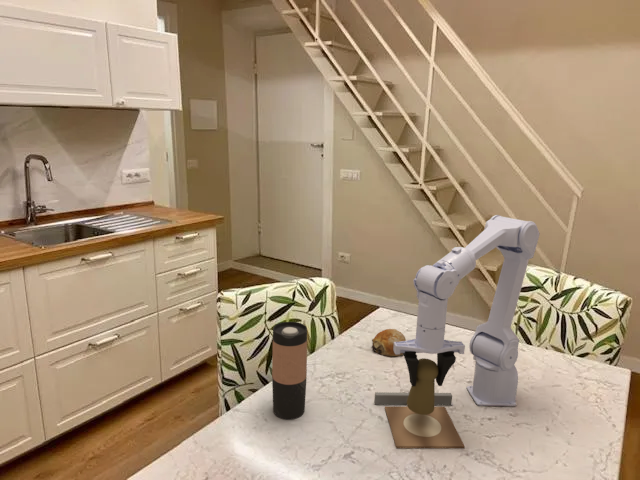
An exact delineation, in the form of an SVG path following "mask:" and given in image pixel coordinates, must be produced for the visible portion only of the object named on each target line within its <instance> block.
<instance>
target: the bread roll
mask: <svg viewBox="0 0 640 480" xmlns="http://www.w3.org/2000/svg"><path fill="white" fill-rule="evenodd" d="M406 340H407V339H406V336H405V335H404V334H403V332H401V331H400V330H397V329H396V328H387V329H383V330H381V331H379V332H377V334H376V335H375V336H374V338H372V339H371V341H372V345H371V349H372V350H373V351H374V352H375V353H377V354H378V355H381V356H384V357H390V358H393V357H401V356H404V355H403V353H400V354H398V355H396V354H395V353H394V351H393V348H394V342H401V341H406Z"/></svg>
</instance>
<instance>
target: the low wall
mask: <svg viewBox="0 0 640 480" xmlns="http://www.w3.org/2000/svg"><path fill="white" fill-rule="evenodd" d="M409 393H410V392H387V391H386V392H381V391H380V392H378V391H377V392H374V406H375V405H376V406H407V399H408V396H409ZM452 401H453V394H452V393H451V392H435V396H434V406H452Z"/></svg>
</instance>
